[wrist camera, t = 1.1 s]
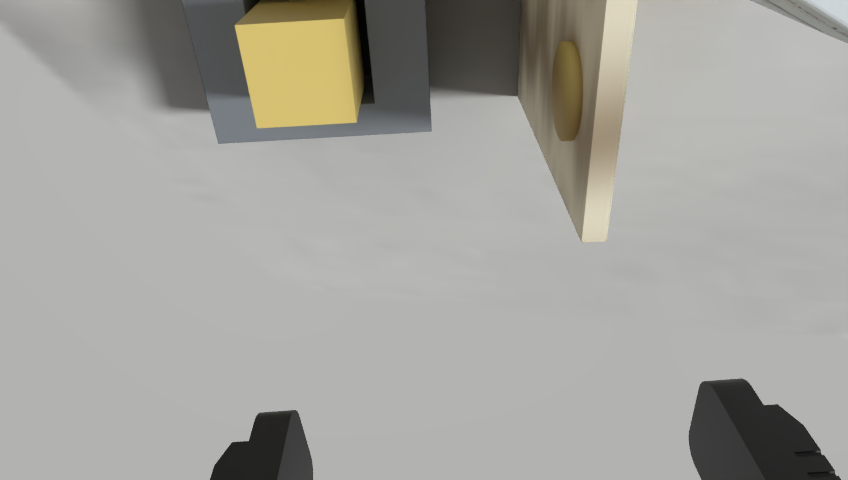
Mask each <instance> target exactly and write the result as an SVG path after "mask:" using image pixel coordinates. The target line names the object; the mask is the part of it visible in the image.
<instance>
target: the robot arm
mask: <svg viewBox="0 0 848 480" xmlns="http://www.w3.org/2000/svg"><path fill="white" fill-rule="evenodd" d="M689 446H690V451H691V456H692V459H693V461H694V464H695V467H696V468H697V471H698V473H699V475H700V477H701V479H702V480H841V479H840V478H839V476H836V475H835V470H834V469H833V467H832V466H831V464H830V463H829V461H828V460H827V459H826V457H825V456H824V455H822V454H821V450H820V448H819V447H818V446H817V444H816V443H815V441H814V440H813V438H812V437H811V436H810V434H809V433H808V431H807V430H806V428H805V427H804V425H802V424H801V423H800V422H799V421H798V420H796V419H795V418H794V417H793V416H791V415H790V414H789V413H788V412H786V411H785V410H784V409H783V408H781V407H780V406H779V405H763V404H762V402H761V400H760V399H759V397H758V396H757V394H756V393H755V391H754V390H753V388H752V386H751V385H750V384H749V383H748V382H747V381H746V380H744V379H729V380H716V381H704V382H702V383H701V384H700V387H699V390H698V395H697V399H696V404H695V408H694V412H693V417H692V422H691V426H690V430H689ZM210 480H313V467H312V459H311V455H310V451H309V448H308V444H307V441H306V437H305V434H304V430H303V427H302V424H301V420H300V417H299V414H298V412H297V411H296V410H291V411H278V412H264V413H259V414H258V415H257V416H256V419H255V422H254V425H253V428H252V432H251V436H250V439H249V441H245V442H233V443H231V445H230V446H229V447H228V449H227V450H226V451H225V452H224V454H223V455H222V456H221V458H220V459H219V460H218V462H217V463H216V464H215V466H214V469H213V472H212V475H211V478H210Z"/></svg>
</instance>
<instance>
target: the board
mask: <svg viewBox="0 0 848 480" xmlns="http://www.w3.org/2000/svg"><path fill="white" fill-rule="evenodd" d="M181 1H182V5H183V9H184V12H185V16H186V20H187V24H188V28H189V32H190V36H191V40H192V43H193V47H194V51H195V55H196V59H197V63H198V67H199V71H200V74H201V78H202V82H203V86H204V90H205V94H206V98H207V102H208V105H209V109H210V113H211V117H212V121H213V125H214V129H215V133H216V136H217V140H218V144H222V143H240V142H257V141H274V140H292V139H309V138H326V137H344V136H361V135H378V134H396V133H413V132H431V131H432V129H431V109H430V90H429V70H428V50H427V31H426V11H425V0H364V2H365V12H366V21H367V31H368V41H369V51H370V60H371V70H372V77H364V79H365V85H364V90H363V94H362V99H361V104H360V109H359V113H358V118H357V123H343V124H325V125H308V126H291V127H273V128H257V126H256V122H255V117H254V112H253V108H252V103H251V99H250V94H249V89H248V85H247V80H246V76H245V71H244V66H243V62H242V57H241V53H240V48H239V43H238V39H237V34H236V30H235V24H236V23H237V22H238V21H240V20H241V19H242V18H243V17H244V16H245V15H246V14H247V13H248V12H249V11H250V10H251V9H252V8H253V7H254V6H255V5H256V4H257V3H258V2H259V1H261V0H181Z"/></svg>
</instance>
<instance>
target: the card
mask: <svg viewBox="0 0 848 480" xmlns="http://www.w3.org/2000/svg"><path fill="white" fill-rule="evenodd" d="M637 2H638V0H521V10H520V42H519V75H518V98H519V100H520V103H521V105H522V107H523V110H524V112H525V114H526V116H527V119H528V121H529V123H530V126H531V128H532V130H533V132H534V135H535V137H536V139H537V142H538V144H539V146H540V149H541V151H542V153H543V155H544V158H545V160H546V162H547V165H548V167H549V169H550V171H551V174H552V176H553V178H554V181H555V183H556V185H557V187H558V190H559V192H560V194H561V197H562V199H563V201H564V203H565V206H566V208H567V210H568V213H569V215H570V217H571V219H572V222H573V224H574V226H575V229H576V231H577V233H578V236H579V238H580V240H581V242H582V243H584V242H602V241H606V240H607V233H608V225H609V217H610V210H611V202H612V194H613V186H614V179H615V171H616V163H617V156H618V148H619V140H620V133H621V125H622V117H623V110H624V102H625V94H626V87H627V79H628V71H629V63H630V56H631V48H632V40H633V33H634V25H635V17H636V10H637Z"/></svg>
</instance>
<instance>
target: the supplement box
mask: <svg viewBox="0 0 848 480" xmlns="http://www.w3.org/2000/svg"><path fill="white" fill-rule="evenodd" d="M751 1H753V2H756V3H758V4H760V5H762V6H764V7H767V8H769V9H771V10H773V11H775V12H778V13H780V14H782V15H784V16H786V17H789V18H791V19H793V20H795V21H798V22H800V23H802V24H804V25H807V26H809V27H811V28H813V29H815V30H818V31H820V32H822V33H825V34H827V35H829V36H831V37H834V38H836V39H838V40H841V41H843V42H846V43H848V0H751Z"/></svg>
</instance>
